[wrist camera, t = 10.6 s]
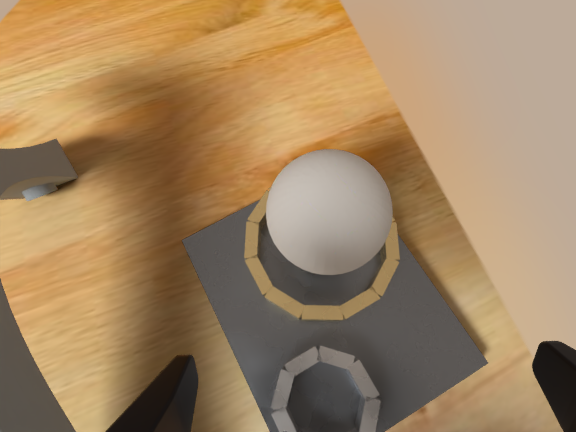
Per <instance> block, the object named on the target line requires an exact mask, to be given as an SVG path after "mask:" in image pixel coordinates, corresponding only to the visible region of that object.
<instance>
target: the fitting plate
mask: <svg viewBox="0 0 576 432" xmlns="http://www.w3.org/2000/svg"><path fill="white" fill-rule="evenodd" d="M270 189H271V188H269V191H268V190H267V191H266V192H265V194H264V195H263V197H262V198H261V199H260V200H259V201H257V202H255V203H253V204H251V205H249V206H247V207H245V208H243V209H241V210H239V211H237V212H235V213H233V214H232V215H230V216H228V217H226V218H224V219H222V220H220V221H218V222H216V223H214V224H212V225H210V226H208V227H206V228H205V229H203V230H201V231H199V232H197V233H195V234H193V235H191V236H189V237H187V238H185V239H183V240H182V242H183V244H184V246H185V249H186V251H187V253H188V255H189V257H190V259H191V262H192V264H193V266H194V268H195V270H196V272H197V275H198V277H199V279H200V281H201V283H202V285H203V288H204V290H205V292H206V294H207V296H208V298H209V301H210V303H211V305H212V307H213V309H214V311H215V314H216V316H217V318H218V320H219V322H220V324H221V327H222V329H223V331H224V333H225V335H226V337H227V340H228V342H229V344H230V346H231V348H232V350H233V353H234V355H235V357H236V359H237V361H238V363H239V366H240V368H241V370H242V372H243V374H244V377H245V379H246V381H247V383H248V385H249V387H250V390H251V392H252V394H253V396H254V398H255V400H256V403H257V405H258V407H259V409H260V411H261V413H262V416H263V418H264V420H265V422H266V424H267V426H268V429H269V431H270V432H385V431H386V430H388V429H389V428H391V427H392V426H394V425H395V424H397V423H398V422H400V421H401V420H403V419H404V418H406V417H408V416H409V415H411V414H412V413H414V412H415V411H417V410H418V409H420V408H421V407H423V406H424V405H426V404H427V403H429V402H430V401H432V400H433V399H435V398H436V397H438V396H439V395H441V394H442V393H444V392H445V391H447V390H448V389H450V388H451V387H453V386H454V385H456V384H457V383H459V382H460V381H462V380H463V379H465V378H466V377H468V376H470V375H471V374H473V373H474V372H476V371H477V370H479V369H480V368H482V367H483V366H485V365H486V364H488V362H487V360H486V359H485V358H484V356H483V355H482V353H481V352H480V350H479V349H478V348H477V346H476V345H475V343H474V342H473V340H472V339H471V338H470V336H469V335H468V333H467V332H466V330H465V329H464V328H463V326H462V325H461V323H460V322H459V320H458V319H457V318H456V316H455V315H454V313H453V312H452V311H451V309H450V308H449V306H448V305H447V303H446V302H445V301H444V299H443V298H442V296H441V295H440V293H439V292H438V291H437V289H436V288H435V286H434V285H433V283H432V282H431V281H430V279H429V278H428V276H427V275H426V273H425V272H424V271H423V269H422V268H421V266H420V265H419V263H418V262H417V261H416V259H415V258H414V256H413V255H412V254H411V252H410V251H409V249H408V248H407V246H406V245H405V244H404V242H403V241H402V239H401V238H400V236H399V235H398V234H397V223H396V222H394V221H395V219H394V217H393V216H392V224H391V228H390V231H389V234H388V237H387V239H386V241H385V243H384V245H383V246H382V247H381V249H380V250H379V252H378V253H377V254H376V255H375V256H374V257H373V258H372V259H371V260H370V261H368V262H367V263H366V264H364V265H363V266H361V267H359V268H357V269H355V270H353V271H350V272H347V273H343V274H337V275H321V274H316V273H311V272H309V271H306V270H303V269H301V268H299V267H297V266H296V265H294V264H293V263H291V262H290V261H289V260H287V259H286V258H285V257H284V255H283V254H282V253H281V252H280V251H279V250H278V248H277V247H276V245H275V244H274V242H273V240H272V238H271V235H270V233H269V229H268V226H267V219H266V205H267V199H268V195H269V192H270Z"/></svg>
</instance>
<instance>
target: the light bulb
mask: <svg viewBox="0 0 576 432" xmlns="http://www.w3.org/2000/svg"><path fill="white" fill-rule="evenodd" d="M392 215H393V210H392V200H391V196H390V192H389V190H388V187H387V185H386V183H385V181H384V180H383V178H382V177H381V175H380V174H379V172H378V171H377V170H376V169H375V168H374V167H373V166H372V165H371V164H369V163H368V162H367V161H366V160H364V159H362V158H361V157H359V156H357V155H355V154H353V153H350V152H346V151H343V150H336V149H323V150H316V151H313V152H309V153H306V154H304V155H302V156H300V157H298V158H296V159H295V160H293V161H292V162H290V163H289V164H288V165H287V166H286V167H285V168H284V169H283V170H282V171H281V172H280V173H279V175H278V176H277V178H276V179H275V181H274V182H273V184H272V187H271V189H270V192H269V195H268V199H267V205H266V219H267V226H268V229H269V233H270V235H271V238H272V240H273V242H274V244H275V245H276V247H277V248H278V250H279V251H280V252H281V253H282V254H283V255H284V257H285V258H286V259H287V260H289V261H290V262H291V263H293V264H294V265H296V266H297V267H299V268H301V269H303V270H306V271H309V272H311V273H316V274H321V275H337V274H343V273H347V272H350V271H353V270H355V269H357V268H359V267H361V266H363V265H364V264H366V263H367V262H368V261H370V260H371V259H372V258H373V257H374V256H375V255H376V254H377V253H378V252H379V250H380V249H381V247H382V246H383V245H384V243H385V241H386V239H387V237H388V234H389V231H390V228H391V224H392Z"/></svg>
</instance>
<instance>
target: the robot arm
mask: <svg viewBox="0 0 576 432" xmlns="http://www.w3.org/2000/svg"><path fill="white" fill-rule="evenodd" d="M532 368H533V372H534V375H535V377H536V379H537V381H538V383H539V385H540V387H541V389H542V391H543V393H544V395H545V396H546V398H547V400H548V402H549V404H550V406H551V408H552V410H553V412H554V414H555V416H556V418H557V420H558V422H559V424H560V426H561V428H562V429H563V431H564V432H576V350H575V349H573V348H571V347H569V346H567V345H566V344H564V343H562V342H559V341H543V342H541V343H540V344H539V346H538V349H537V352H536V355H535V358H534V360H533V364H532ZM197 388H198V374H197V370H196V365H195V361H194V358H193V356H192V355H177V356H176V357H174V358H173V360H172V361H171V362H170V363H169V364H168V365H167V366H166V367H165V368H164V369H163V370H162V371H161V372H160V374H159V375H158V376H157V377H156V378H155V379H154V380H153V381H152V382H151V383H150V384H149V385H148V386H147V387H146V389H145V390H144V391H143V392H142V393H141V394H140V395H139V396H138V397H137V398H136V399H135V400H134V401H133V403H132V404H131V405H130V406H129V407H128V408H127V409H126V410H125V411H124V412H123V413H122V414H121V415H120V416H119V418H118V419H117V420H116V421H115V422H114V423H113V424H112V425H111V426H110V427H109V428H108V429H107V430H106V432H191V426H192V420H193V413H194V407H195V401H196V395H197Z"/></svg>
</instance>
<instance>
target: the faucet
mask: <svg viewBox="0 0 576 432" xmlns="http://www.w3.org/2000/svg"><path fill="white" fill-rule="evenodd" d="M76 178H78V176H77V174H76V172H75V170H74V169H73V167H72V165H71V163H70V162H69V160H68V158H67V156H66V155H65V153H64V151H63V149H62V147H61V146H60V144H59V142H58V140H57V139H54V140H51V141H49V142H46V143H43V144H39V145H35V146H31V147H24V148H15V149H0V200H4V199H23V198H26V200H27V201H30V200H33V199H35V198H38V197H41V196H43V195H46V194H48V193H51V192H53V191H56V190H58V189H57V187H56V186H58V185H60V184H63V183H66V182H68V181H71V180H74V179H76ZM0 432H76V431H75V430H74V428H73V426H72V425H71V423H70V421H69V420H68V418H67V416H66V415H65V413H64V411H63V410H62V408H61V407H60V405H59V403H58V402H57V400H56V398H55V397H54V395H53V393H52V391H51V390H50V388H49V386H48V384H47V383H46V381H45V379H44V377H43V376H42V374H41V372H40V370H39V368H38V366H37V364H36V363H35V361H34V359H33V357H32V355H31V353H30V351H29V349H28V347H27V345H26V343H25V341H24V338H23V336H22V334H21V332H20V330H19V327H18V325H17V323H16V320H15V318H14V316H13V313H12V311H11V308H10V306H9V303H8V300H7V297H6V294H5V291H4V289H3V286H2V283H1V279H0Z"/></svg>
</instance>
